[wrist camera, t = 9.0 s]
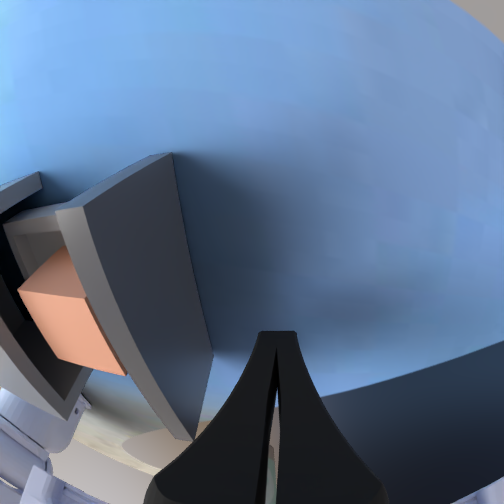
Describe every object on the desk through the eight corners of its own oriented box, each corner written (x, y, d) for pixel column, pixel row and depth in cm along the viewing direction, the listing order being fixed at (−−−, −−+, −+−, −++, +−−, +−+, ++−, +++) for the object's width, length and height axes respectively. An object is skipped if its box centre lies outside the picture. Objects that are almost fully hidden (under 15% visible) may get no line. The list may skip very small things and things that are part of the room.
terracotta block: (90, 311, 15) (58, 358, 11) (62, 245, 12) (17, 289, 9) (153, 318, 14) (125, 375, 11) (129, 244, 12) (84, 298, 8)
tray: (213, 355, 16) (194, 441, 11) (78, 338, 18) (43, 397, 12) (171, 152, 10) (82, 206, 5) (14, 188, 12) (-56, 235, 7)
